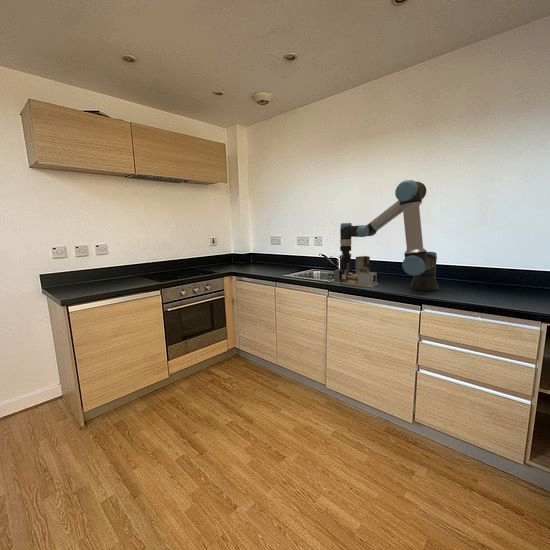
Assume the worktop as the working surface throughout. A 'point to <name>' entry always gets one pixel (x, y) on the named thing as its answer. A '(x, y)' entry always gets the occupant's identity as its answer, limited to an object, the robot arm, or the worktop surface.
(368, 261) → the coffee box
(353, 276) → the brown stepped block
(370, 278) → the guide
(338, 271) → the socket
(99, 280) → the worktop surface
